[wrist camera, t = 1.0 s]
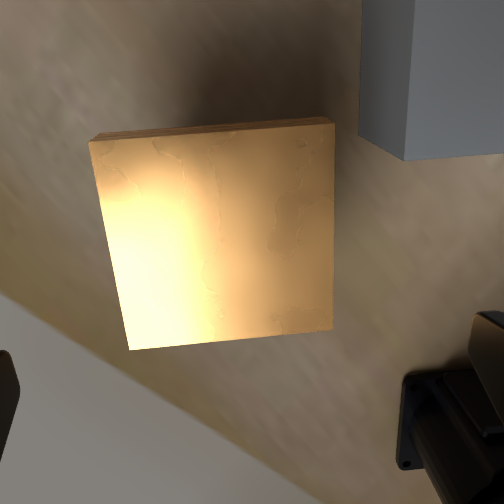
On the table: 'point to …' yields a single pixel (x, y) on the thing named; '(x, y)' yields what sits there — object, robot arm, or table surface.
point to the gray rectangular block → (432, 77)
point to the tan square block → (220, 229)
